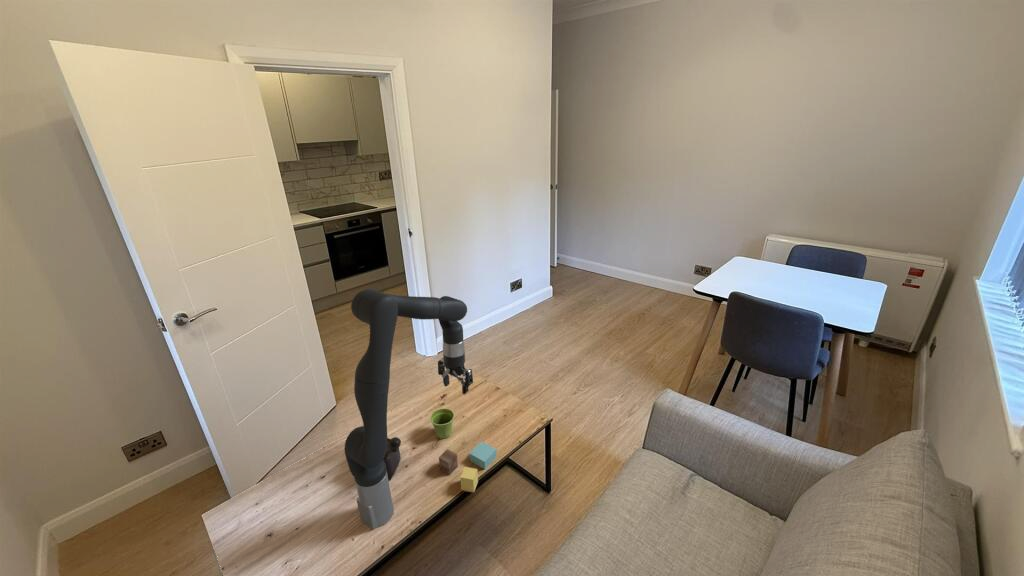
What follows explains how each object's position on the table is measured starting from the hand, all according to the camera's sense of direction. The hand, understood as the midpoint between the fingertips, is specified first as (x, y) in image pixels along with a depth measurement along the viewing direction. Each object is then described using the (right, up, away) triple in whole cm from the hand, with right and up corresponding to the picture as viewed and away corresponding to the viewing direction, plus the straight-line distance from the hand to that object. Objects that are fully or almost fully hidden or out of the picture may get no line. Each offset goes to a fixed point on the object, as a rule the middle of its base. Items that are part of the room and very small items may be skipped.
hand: (455, 389), depth 150 cm
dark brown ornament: (-24, -28, -2) cm, 37 cm away
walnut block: (-2, -28, -2) cm, 28 cm away
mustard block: (+6, -31, -9) cm, 33 cm away
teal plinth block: (+10, -26, +2) cm, 28 cm away
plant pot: (-7, -21, +14) cm, 26 cm away
